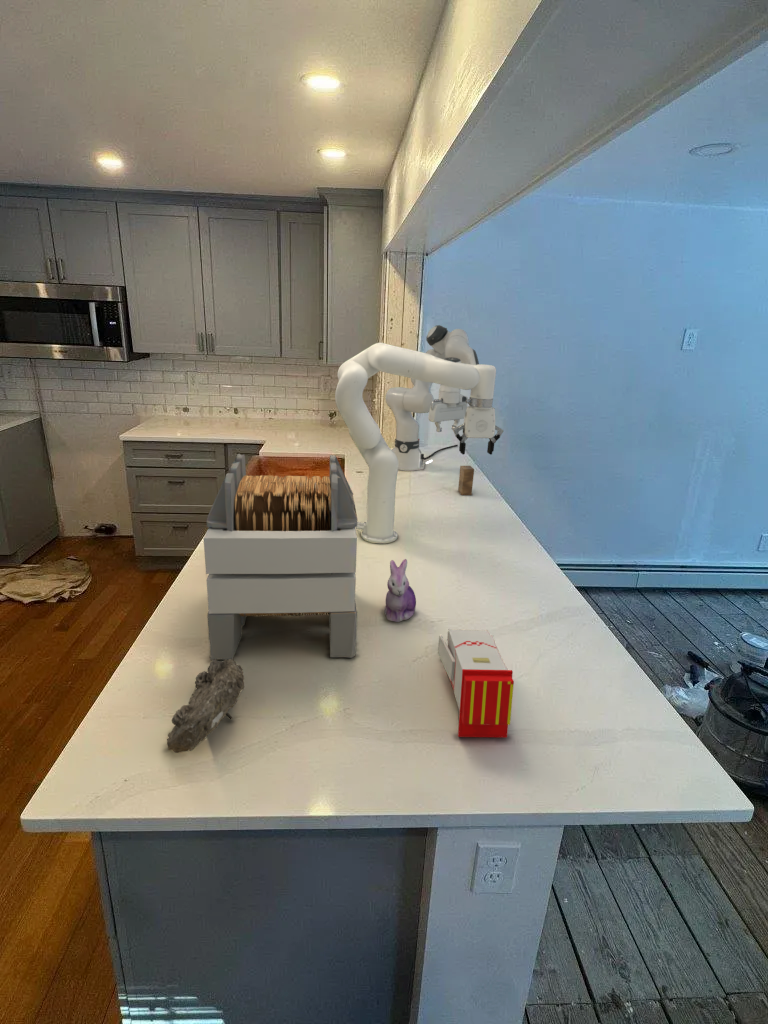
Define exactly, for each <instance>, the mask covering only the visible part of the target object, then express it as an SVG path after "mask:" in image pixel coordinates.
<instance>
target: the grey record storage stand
mask: <svg viewBox="0 0 768 1024" xmlns="http://www.w3.org/2000/svg"><path fill="white" fill-rule="evenodd" d="M246 468H247V467H246V456H245V454H241V453H237V454H236V456H235V459H234V461H232V463H231V466H230V468H229V470H228V472H227V473H226V474H225V476H224V479H223V481H222V484H221V485H220V488H219V490H218V492H217V495H216V496H215V499H214V501H213V504H212V506H211V508H210V509H209V512H208V515H207V518H206V528H207V530H206V532H205V534H204V536H203V549H204V564H205V565H204V567H205V574H206V575H207V577H206V591H207V592H206V593H207V594H206V595H207V607H208V610H207V615H206V617H207V634H208V641H209V651H210V656H209V659H210V661H212V660H227V659H228V660H231V659H232V660H234V658H235V654H236V651H237V649H238V647H239V645H240V642H241V639H242V637H243V627H244V626H245V625H246V624H245V623H246V620H247V617H267V616H268V617H271V616H272V617H273V616H275V617H276V616H277V617H278V616H279V617H280V616H281V617H286V616H295V617H296V616H300V617H301V616H318V615H319V616H321V615H322V616H323V615H326V616H328V625H329V657H330V658H350V659H352V658H354V657H355V656H356V655H357V630H358V628H357V626H358V625H357V624H358V610H357V602H356V587H357V586H356V585H357V583H356V582H357V577H356V573H357V551H358V550H357V549H358V548H357V547H358V536H357V529H356V526H357V522H359V521H358V515H357V509H356V503H355V498H354V493H353V490H352V487H351V486H350V484H349V481H348V479H347V477H346V475H345V473H344V471H343V469H342V467H341V464H340V462H339V459H338V458H337V455H336V454H329V475H325V476H322V477H321V476H319V475H313V476H312V477H309V476H307V475H284V476H281V475H280V476H279V475H275V476H274V475H251V474H250V475H247V469H246Z"/></svg>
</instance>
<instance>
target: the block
mask: <svg viewBox="0 0 768 1024" xmlns="http://www.w3.org/2000/svg"><path fill="white" fill-rule="evenodd" d="M474 476H475V468H474V467H473V466H471V465H460V466H459V476H458V487H457V492H458V493H459V494H460V495H461V496H473V495H472V494H473V486H474Z"/></svg>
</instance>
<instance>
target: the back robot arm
mask: <svg viewBox="0 0 768 1024" xmlns="http://www.w3.org/2000/svg"><path fill="white" fill-rule="evenodd" d="M425 337H426V338H425V339H426V342H427V344H428V346H430V347H432V348H431V349H428V350H426V352H425V353H427V354H430V355H432V356H435V357H437V358H440V359H444V360H447V361H451V362H455V363H464V364H470V365H479V364H480V361H479V358H478V354H477V351H476V350H475V349H473V348H472V347H471V346H470V338H469V335H468V333H467V332H466V331H465V330H464V329H462V328H454V329H452V330H451V331H450V330H448V328H447V327H445V326H443V325H440V324H438V325H435V326H433V327H431V329H430V330H429V331H428V332H427V334H426V336H425ZM410 381H411V383H412V385H413V387H411V388H409V387H402V386H395V387H390V388H389V389H388V390H387V392H386V394H385V403H386V405H387V407H389V409H390V410H391V411H392V414H393V416H394V420H395V439H394V447H393V448H392V449H391V450H392V451H393V452H394V453H395V455H396V457H397V459H398V471H406V472H412V471H420V470H422V471H423V470H425V465H427V464H430V463H432V462H433V459H430V458H431V457H433V456H434V455H435V454H437V453H439V452H442V451H444V450H447V449H452V448H455V447H459V444H453V445H450V446H446V447H443V448H440V449H438V450H435V451H434V452H432V453H431V454H429V455H427V456H426V457H425V454H424V453H422V451H421V449H420V438H419V437H420V435H419V434H420V424H419V422H418V420H417V419H416V418H414V416H413V414H427V413H428V417H427V419H428V421H429V422H432V423H434V425H435V428H436V432H437V433H441V432H443V431H442V430H443V428H442V427H441V423H442V422H447V421H448V422H449V421H453V424H452V425H451V430H452V431H453V429H454V428H456V427H458V426H459V424H460V420H464V418H465V414H466V410H467V407H468V403H466V399H469V397H468V396H467V395H463V394H461V389H458V388H454V387H449V386H445V385H441V384H439V385H440V386H439V389H438V398H434V395H433V394H432V392H431V388H432V386H433V383H432V382H425V381H421V380H417V379H412V378H410ZM412 413H413V414H412ZM428 459H430V460H428ZM425 460H428V461H425Z"/></svg>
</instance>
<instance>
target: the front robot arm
mask: <svg viewBox="0 0 768 1024" xmlns="http://www.w3.org/2000/svg"><path fill="white" fill-rule="evenodd" d="M379 372H380V373H381V372H382V373H385V374H390V375H396V376H399V377H404V378H407V379H408V378H409V379H411V378H412V379H417V380H421V381H425V382H432V384H436V385H445V386H449V387H454V388H458V389H460V390H464V391H470V393H469V394H470V395H469V397H468V399H466V403H467V410H466V414H465V418H464V419H463V423H462V424H460V425H458V426H457V427H456V428H454V429H453V430H452V431H453V434H454V436H455V438H456V439H457V440H458V441H459V445H458V447H459V448H458V452H459V453H460V454H461V455H464V456H465V454H466V447H467V444H466V441H467V440H468V439H489V440H488V442H487V450H486V452H487V454H489V455H490V456H492V455H493V453H494V451H495V444H496V443H497V441H498V440H499V439H500V438H501V436H502V434H503V433H504V429H502V428H501V427H500V426H497V425H496V409H495V408H494V407H493V406H494V405H493V404H494V403H493V402H494V394H495V386H496V385H495V384H496V377H497V376H496V375H497V368H496V367H495V365H491V364H486V363H485V364H484V363H483V364H481V363H479V365H470V364H464V363H455V362H451V361H447V360H444V359H440V358H437V357H435V356H432V355H430V354H427V353H426V352H423V351H418V350H415V349H410V348H407V347H406V348H405V347H401V346H397V345H393V344H388V343H385V342H376V343H374V344H372V345H370V346H369V347H367V348H365V349H363V350H362V351H360V352H359V353H358V354H355V355H354V356H352V357H350V358H349V359H347V360H346V361H345V362H344V361H343V363H341V365H340V366H339V368H338V371H337V375H336V376H337V380H338V382H337V385H336V388H335V393H334V400H335V401H334V402H335V405H336V408H337V410H338V412H339V415H340V416H341V418H342V420H343V422H344V424H345V426H346V427H347V429H348V434H349V436H350V438H351V440H352V442H353V443H354V445H355V447H356V449H357V450H358V452H359V454H360V455H361V457H362V458H363V460H364V462H365V463H366V465H367V466H368V476H367V477H368V478H367V487H366V519H365V520H366V521H364V522H362V521H357V526H356V527H355V529H356V530H361V534H360V535H361V538H362V539H363V540H364V541H366V542H368V543H373V544H389V543H393V542H395V541H397V540H398V537H399V534H398V532H397V531H396V530H395V528H394V527H395V510H396V509H395V508H396V507H395V506H396V491H397V490H396V489H397V478H398V473H399V470H398V459H397V457H396V455H395V453H394V452H393V451H392V449H391V448H390V446H389V444H387V442H386V440H385V438H384V436H383V435H382V432H381V429H380V426H379V424H378V423H377V422H376V421H375V419H374V418H373V416H372V414H371V413H370V411H369V408H368V406H367V405H366V403H365V401H364V397H363V395H364V394H363V393H364V390H365V388H366V386H367V384H368V381H369V379H370V378H371V377H373V376H375V375H376V374H377V373H379ZM460 431H462V435H460V433H459V432H460Z"/></svg>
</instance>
